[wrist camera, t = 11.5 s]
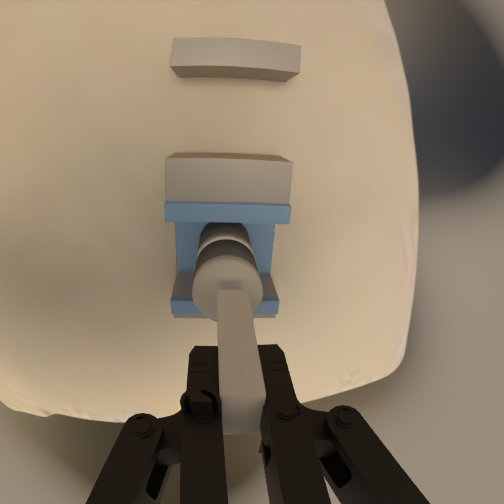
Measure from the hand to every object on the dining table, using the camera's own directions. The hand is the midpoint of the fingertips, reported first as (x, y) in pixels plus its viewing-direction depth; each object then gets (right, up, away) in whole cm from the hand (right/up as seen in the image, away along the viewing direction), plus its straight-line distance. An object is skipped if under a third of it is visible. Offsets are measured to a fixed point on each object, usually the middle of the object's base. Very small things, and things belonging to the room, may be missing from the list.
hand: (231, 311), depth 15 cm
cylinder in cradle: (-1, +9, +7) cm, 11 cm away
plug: (-1, +4, +9) cm, 10 cm away
